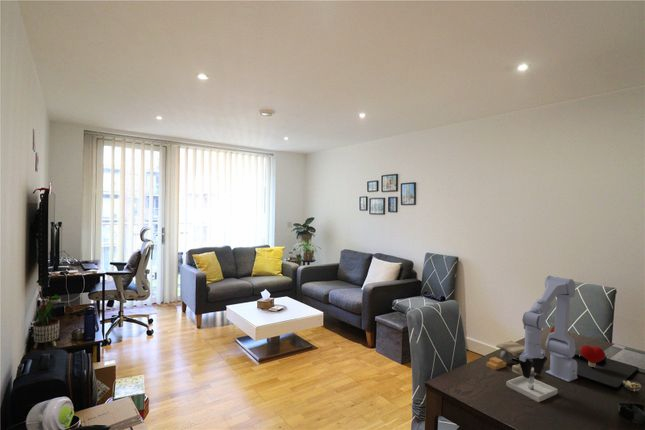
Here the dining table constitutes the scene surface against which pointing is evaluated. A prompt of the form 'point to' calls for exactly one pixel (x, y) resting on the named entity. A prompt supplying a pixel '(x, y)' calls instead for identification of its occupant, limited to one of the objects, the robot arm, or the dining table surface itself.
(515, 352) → the trolley
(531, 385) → the pin
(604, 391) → the dining table surface
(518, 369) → the pin socket
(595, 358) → the red mushroom
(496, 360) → the tan stepped block
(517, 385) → the parts tray
